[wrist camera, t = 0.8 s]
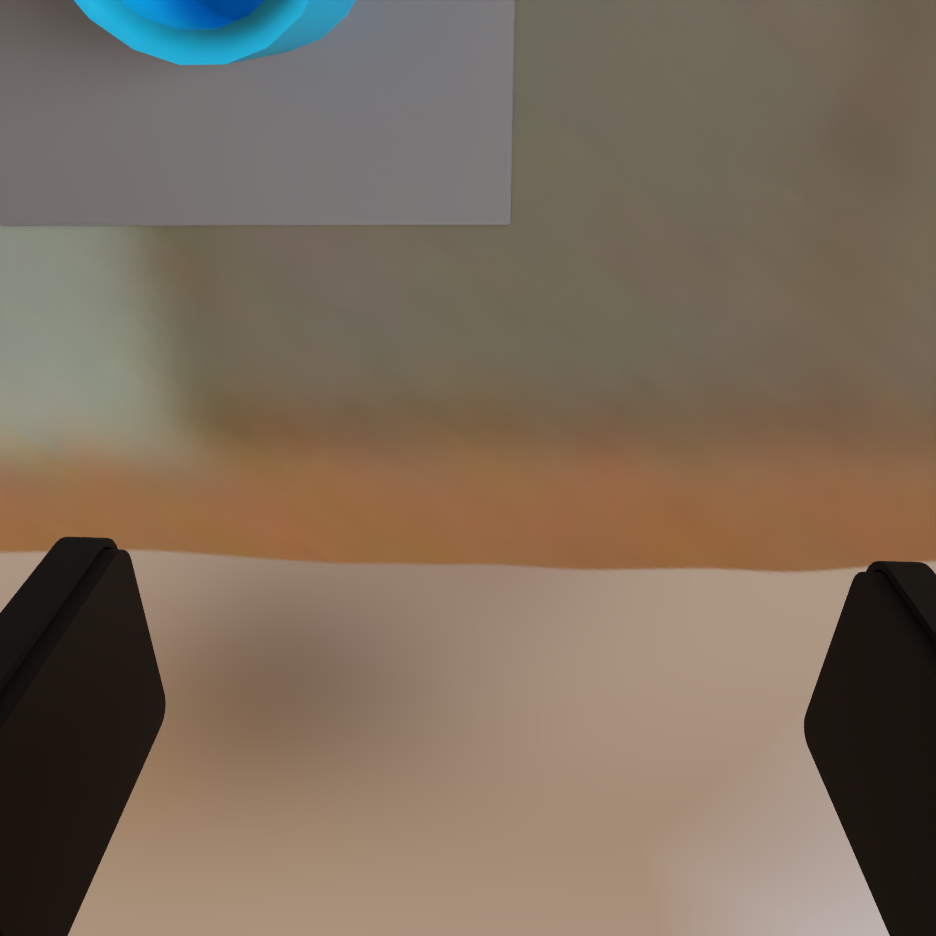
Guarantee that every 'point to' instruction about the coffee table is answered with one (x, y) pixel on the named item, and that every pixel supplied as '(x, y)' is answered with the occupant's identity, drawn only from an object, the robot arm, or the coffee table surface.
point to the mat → (261, 123)
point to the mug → (215, 26)
